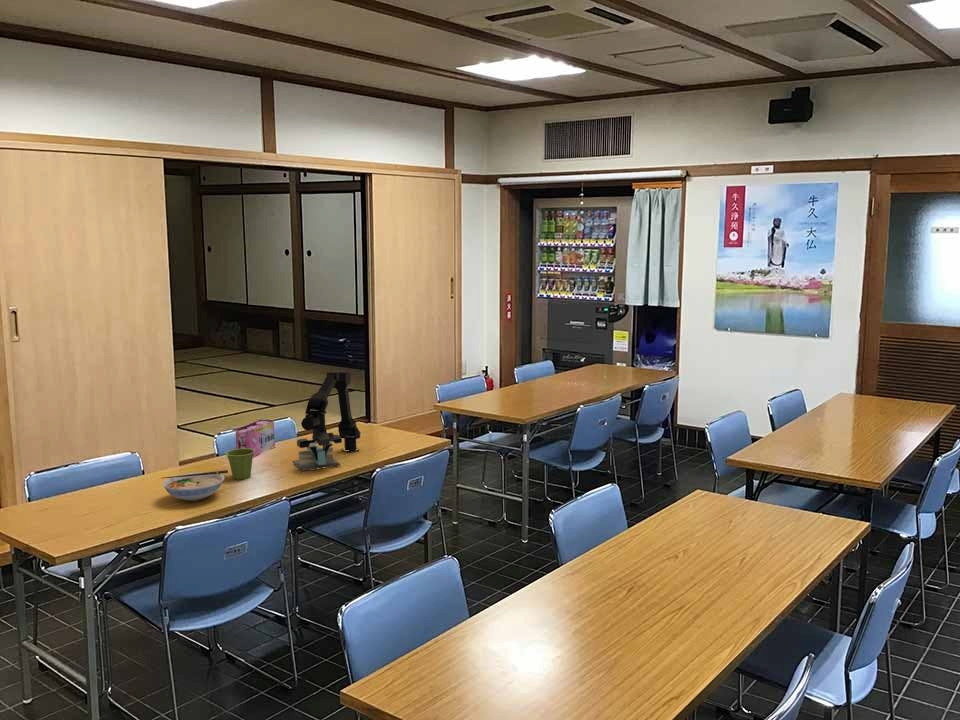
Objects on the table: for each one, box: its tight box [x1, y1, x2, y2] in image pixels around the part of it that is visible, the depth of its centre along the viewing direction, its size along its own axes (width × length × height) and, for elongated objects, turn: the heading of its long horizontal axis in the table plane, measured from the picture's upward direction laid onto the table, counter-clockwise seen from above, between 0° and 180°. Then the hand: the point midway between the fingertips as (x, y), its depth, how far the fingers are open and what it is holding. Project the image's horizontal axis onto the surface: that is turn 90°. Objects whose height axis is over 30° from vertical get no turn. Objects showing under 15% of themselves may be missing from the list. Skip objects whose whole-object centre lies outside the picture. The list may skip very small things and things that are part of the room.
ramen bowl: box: [160, 469, 229, 502], centre depth 312 cm, size 25×23×8 cm
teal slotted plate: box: [306, 444, 326, 465], centre depth 359 cm, size 18×3×6 cm, turn 28°
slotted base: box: [292, 446, 341, 472], centre depth 359 cm, size 16×17×7 cm
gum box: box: [235, 419, 276, 458], centre depth 381 cm, size 24×8×14 cm, turn 165°
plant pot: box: [225, 448, 255, 481], centre depth 340 cm, size 12×12×11 cm
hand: (320, 460), depth 353 cm, fingers closed on teal slotted plate, 3 cm apart
